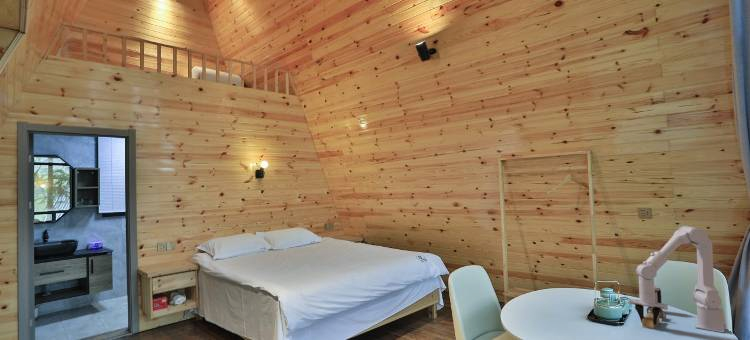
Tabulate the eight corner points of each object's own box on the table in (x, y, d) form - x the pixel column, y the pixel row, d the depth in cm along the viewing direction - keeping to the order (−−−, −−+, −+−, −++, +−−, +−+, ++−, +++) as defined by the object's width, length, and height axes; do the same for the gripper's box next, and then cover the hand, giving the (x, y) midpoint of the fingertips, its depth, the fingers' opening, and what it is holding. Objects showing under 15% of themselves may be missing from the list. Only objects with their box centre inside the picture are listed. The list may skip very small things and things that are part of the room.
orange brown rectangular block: (659, 322, 189) (659, 314, 189) (653, 329, 181) (652, 321, 181) (649, 320, 192) (648, 312, 192) (642, 327, 183) (642, 319, 184)
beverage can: (664, 313, 201) (662, 288, 201) (651, 313, 202) (649, 288, 202) (658, 309, 206) (657, 285, 207) (646, 309, 207) (644, 285, 208)
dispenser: (666, 318, 193) (665, 307, 194) (663, 321, 189) (662, 310, 190) (650, 315, 198) (649, 305, 198) (647, 318, 194) (646, 308, 194)
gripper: (625, 291, 186) (627, 322, 186) (664, 296, 176) (666, 329, 176) (630, 288, 191) (632, 318, 191) (668, 293, 181) (670, 324, 181)
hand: (648, 323), depth 184 cm, fingers closed on orange brown rectangular block, 4 cm apart
